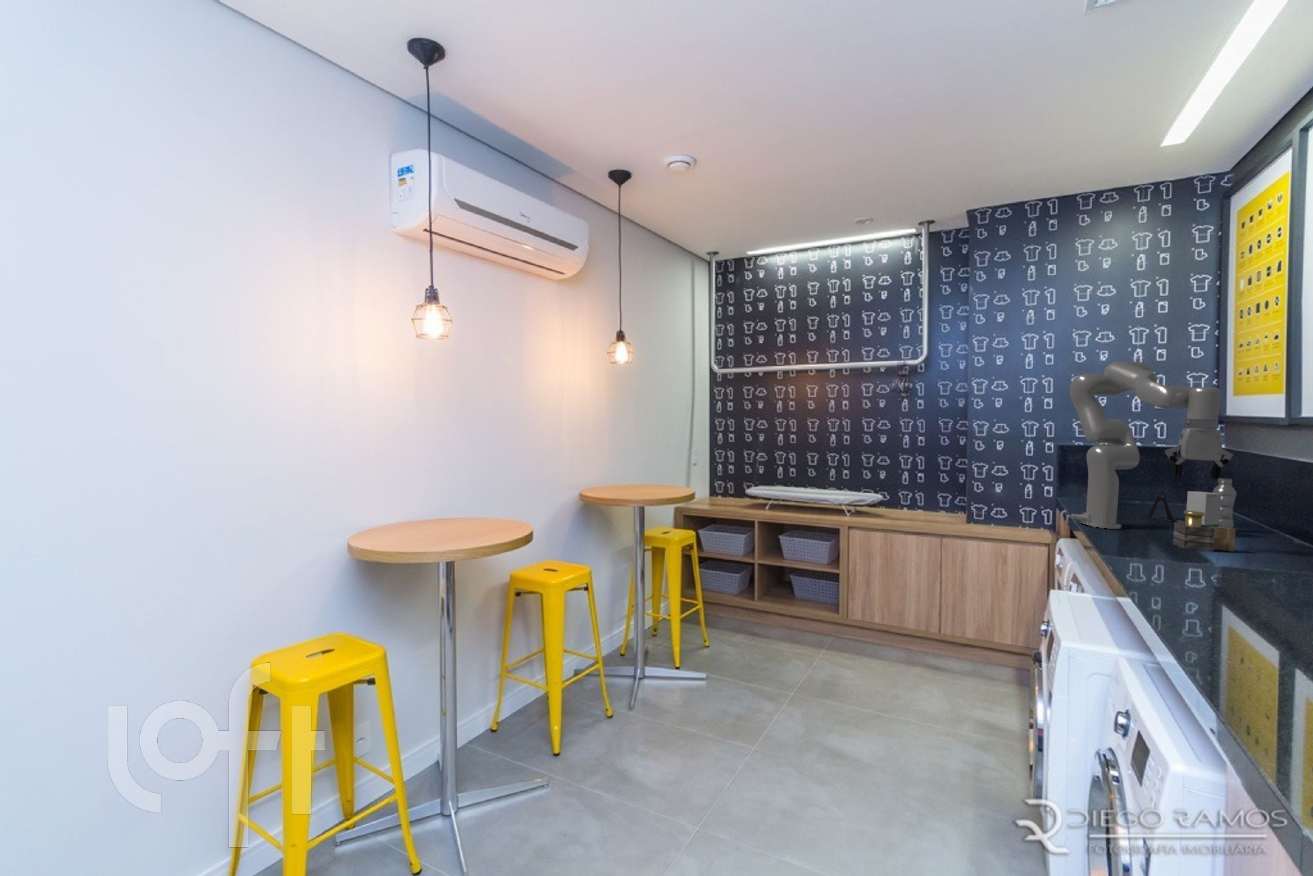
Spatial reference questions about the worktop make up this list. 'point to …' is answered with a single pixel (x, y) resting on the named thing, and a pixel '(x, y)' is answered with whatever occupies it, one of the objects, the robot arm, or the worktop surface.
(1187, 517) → the brass hinge pin
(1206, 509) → the skincare box
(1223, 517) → the plastic bottle
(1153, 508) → the black a-shaped stand
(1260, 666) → the worktop surface
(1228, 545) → the wooden crate
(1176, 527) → the slatted wooden box
